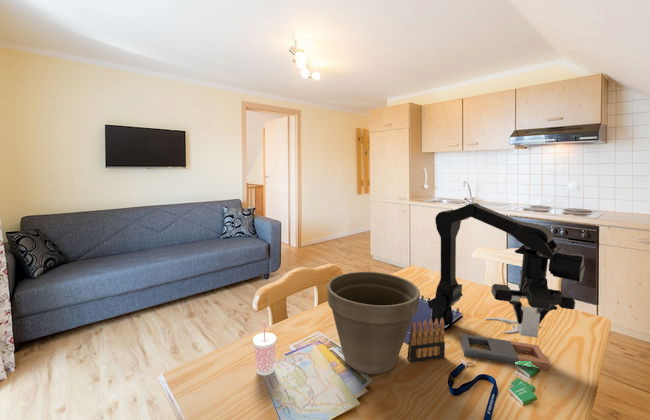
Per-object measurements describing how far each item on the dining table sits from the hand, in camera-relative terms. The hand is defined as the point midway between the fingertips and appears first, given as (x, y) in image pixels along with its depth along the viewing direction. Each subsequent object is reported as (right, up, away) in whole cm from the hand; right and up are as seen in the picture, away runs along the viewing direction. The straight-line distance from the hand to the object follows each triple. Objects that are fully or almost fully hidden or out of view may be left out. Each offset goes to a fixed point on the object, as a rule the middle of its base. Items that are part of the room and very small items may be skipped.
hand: (527, 324), depth 88 cm
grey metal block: (0, -3, 0) cm, 3 cm away
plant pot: (-44, -10, +1) cm, 45 cm away
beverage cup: (-73, -11, -4) cm, 74 cm away
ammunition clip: (-28, -10, +1) cm, 30 cm away
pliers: (+8, -8, +20) cm, 23 cm away
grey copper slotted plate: (-6, -10, +3) cm, 12 cm away
